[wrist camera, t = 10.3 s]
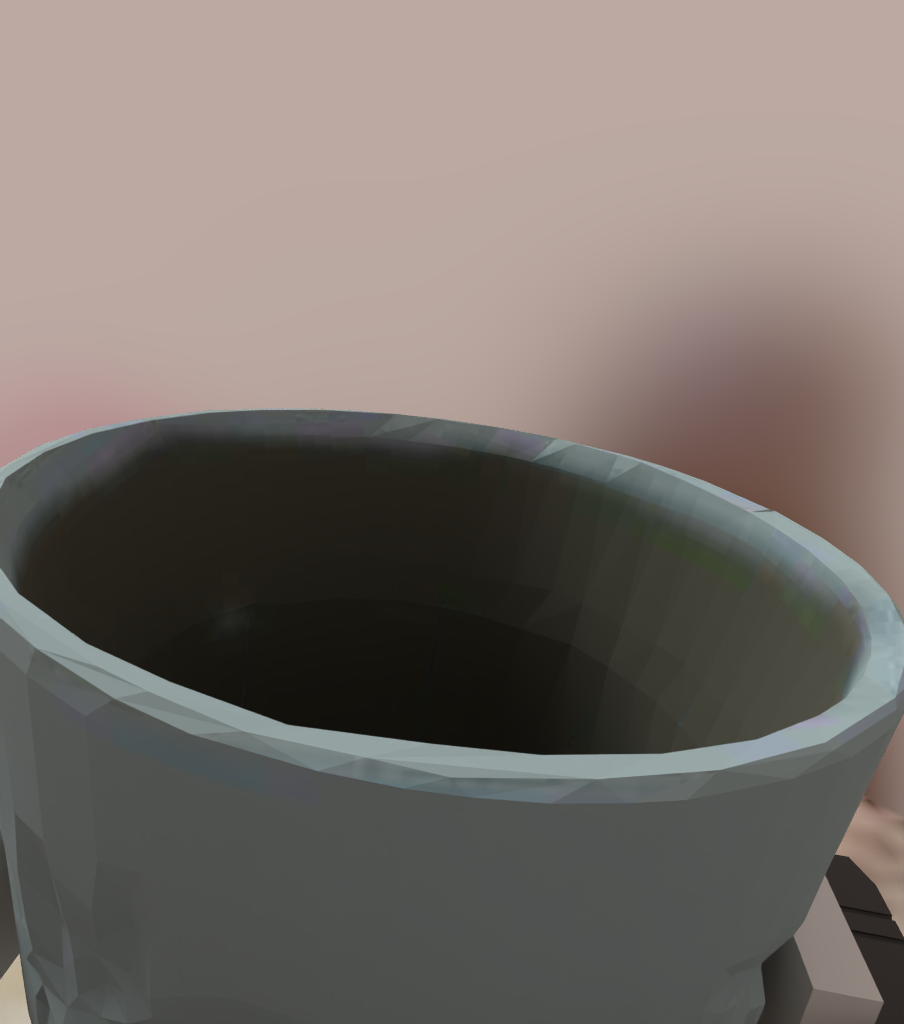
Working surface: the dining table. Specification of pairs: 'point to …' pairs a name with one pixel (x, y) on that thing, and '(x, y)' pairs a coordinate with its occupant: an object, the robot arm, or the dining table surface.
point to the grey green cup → (416, 725)
